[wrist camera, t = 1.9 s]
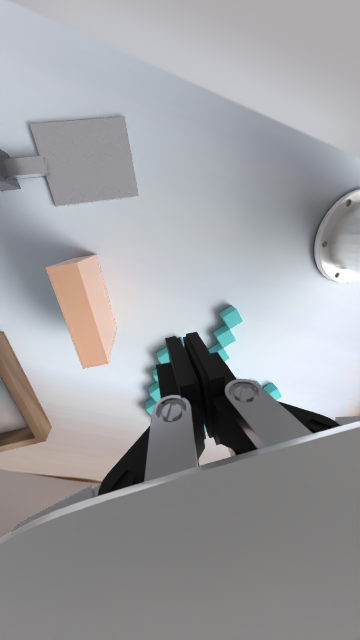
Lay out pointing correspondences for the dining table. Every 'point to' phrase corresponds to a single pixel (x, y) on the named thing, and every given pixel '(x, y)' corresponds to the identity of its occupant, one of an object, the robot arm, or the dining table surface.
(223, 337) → the alien figure
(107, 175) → the dark grey pieces
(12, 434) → the wooden tray
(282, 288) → the dining table surface
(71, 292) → the block
